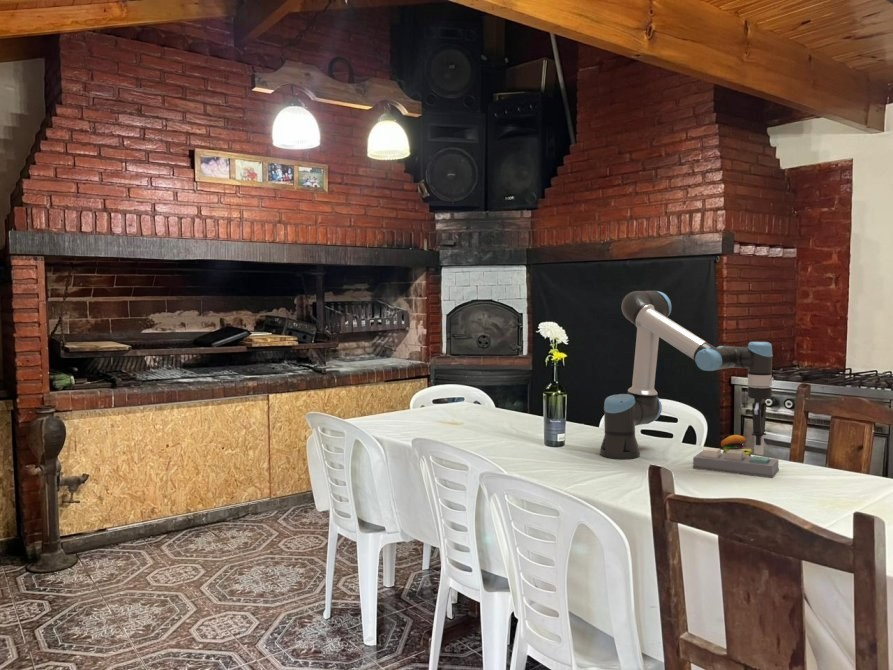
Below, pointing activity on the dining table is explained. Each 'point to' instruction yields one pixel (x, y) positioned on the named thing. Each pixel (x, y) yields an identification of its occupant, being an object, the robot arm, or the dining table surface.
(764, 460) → the key teal
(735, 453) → the key grey
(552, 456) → the dining table surface
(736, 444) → the cheeseburger
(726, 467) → the keypad base
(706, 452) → the key ivory
